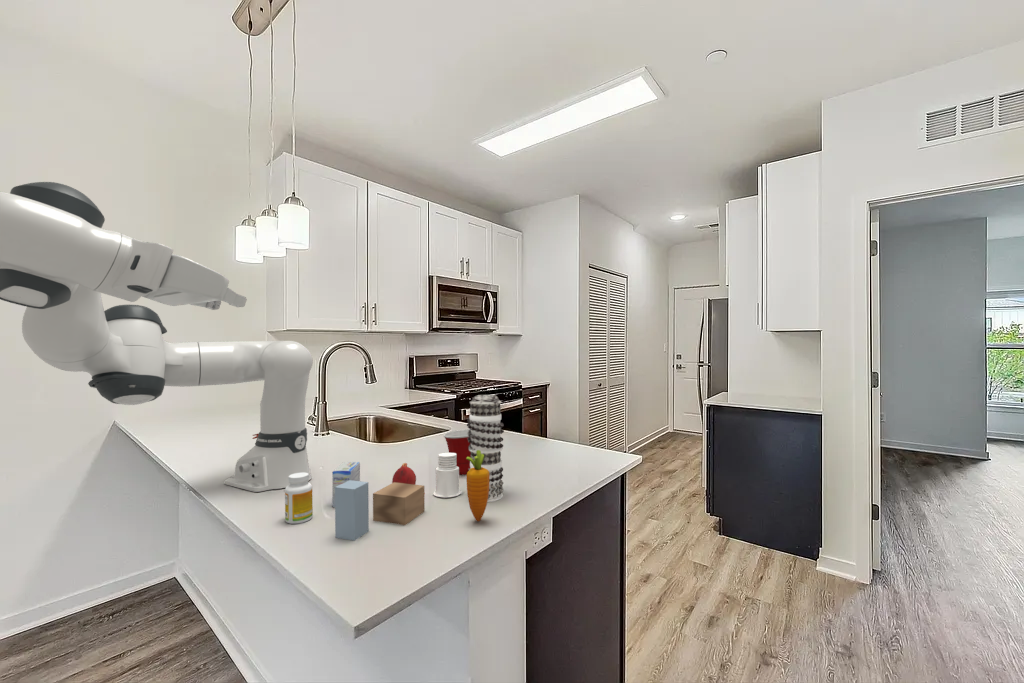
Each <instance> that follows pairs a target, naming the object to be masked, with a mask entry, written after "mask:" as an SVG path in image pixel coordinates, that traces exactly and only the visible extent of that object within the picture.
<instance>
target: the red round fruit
mask: <svg viewBox="0 0 1024 683" xmlns="http://www.w3.org/2000/svg"><path fill="white" fill-rule="evenodd" d="M394 482H396V483H405V484H414V485H417V484H416V483H417V475H416V473H415V472H414V470H413V469H412V468H410V467H409V466H408V463H406V462H404V463H402V464H401V466H400V467H399V468H398V469H397V470H395V472H394V473H393V476H392V480H391V484H392V483H394Z"/></svg>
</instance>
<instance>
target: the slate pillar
mask: <svg viewBox="0 0 1024 683" xmlns="http://www.w3.org/2000/svg"><path fill="white" fill-rule="evenodd" d="M369 501H370V500H369V482H368V481H361V480H360V481H352V480H349V481H347V482H345V483H343V484H341V485H339V486H336V487H335V508H334V522H335V525H334V526H335V528H334V529H335V530H334V531H335V534H334V535H335V536H334V537H335V539H340V540H341V539H343V540H348V541H349V540H350V541H354V542H355V541H356V540H357V539H359V538H361V537H363V536H364V535H365V534H366V533H368V532H370V531H369V530H370V528H369V527H370V524H369V521H370V520H369V519H370V518H369V515H370V514H369Z"/></svg>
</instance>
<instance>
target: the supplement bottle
mask: <svg viewBox="0 0 1024 683" xmlns="http://www.w3.org/2000/svg"><path fill="white" fill-rule="evenodd" d="M308 480H309V474H308V473H304V472H303V473H295V474H291V475H289V479H288V482H289V483H290V485H288V486H287V487H286V488H284V511H285V512H284V518H285V519H284V520H285V523H287V524H291V525H295V524H303V523H305V522H308V521H310V520H311V519H313V516H314V515H313V513H314V512H313V507H314V506H313V485H312V484H311V482H309V481H310V480H309V481H308Z"/></svg>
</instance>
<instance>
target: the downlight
mask: <svg viewBox="0 0 1024 683" xmlns="http://www.w3.org/2000/svg"><path fill="white" fill-rule="evenodd" d="M437 458H438V459H437V461H438V462H437V467H436V468H435V490H434V492H433V493H432V494H433V496H435V497H438V498H443V499H448V498H453V497H458V496H460V495H462V490H460V475H459V467H458V466H456V465H457V463H456V462H457V461H456V460H457V459H456V458H457V454H456V453H449V452H442V453H438V457H437Z"/></svg>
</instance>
